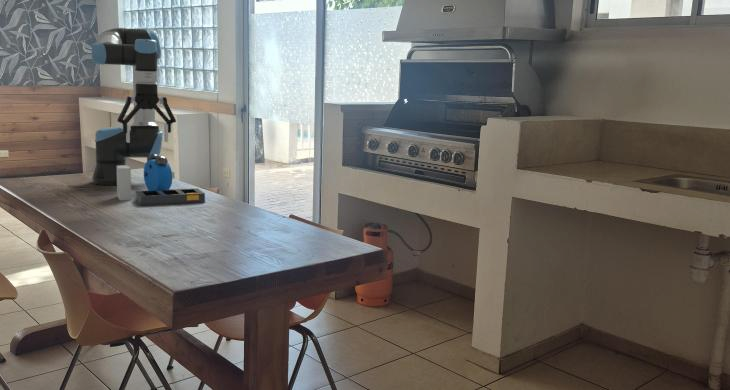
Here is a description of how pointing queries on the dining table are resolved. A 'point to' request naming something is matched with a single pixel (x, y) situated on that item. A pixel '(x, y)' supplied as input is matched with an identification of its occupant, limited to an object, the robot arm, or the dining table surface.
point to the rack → (170, 197)
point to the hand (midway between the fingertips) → (147, 142)
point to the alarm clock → (157, 173)
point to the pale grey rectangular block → (124, 182)
